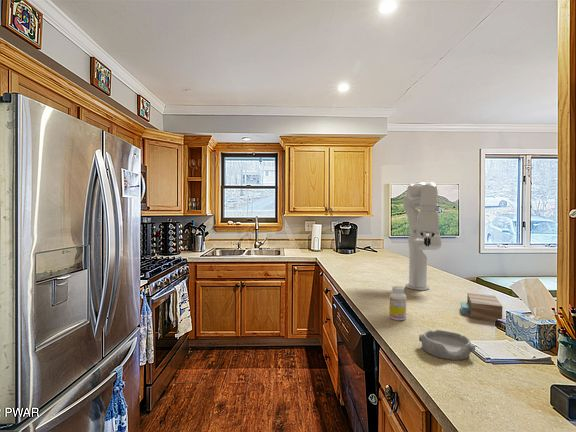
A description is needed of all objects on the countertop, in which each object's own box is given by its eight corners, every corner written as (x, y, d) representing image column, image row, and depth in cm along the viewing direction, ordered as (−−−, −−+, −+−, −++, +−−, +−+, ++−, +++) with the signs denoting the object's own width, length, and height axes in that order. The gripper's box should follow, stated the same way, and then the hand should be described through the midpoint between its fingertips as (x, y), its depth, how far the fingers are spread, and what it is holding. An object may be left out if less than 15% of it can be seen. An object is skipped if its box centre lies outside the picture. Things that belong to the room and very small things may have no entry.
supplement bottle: (394, 314, 140) (394, 284, 139) (408, 318, 135) (409, 287, 135) (386, 318, 135) (386, 287, 135) (401, 322, 130) (402, 290, 130)
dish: (480, 359, 99) (481, 343, 99) (443, 365, 95) (444, 348, 95) (445, 340, 113) (445, 326, 113) (411, 344, 109) (412, 330, 109)
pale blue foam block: (460, 308, 150) (460, 301, 150) (491, 312, 145) (491, 305, 145) (462, 314, 141) (462, 307, 141) (494, 318, 136) (494, 311, 136)
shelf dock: (462, 305, 153) (462, 292, 153) (494, 309, 148) (495, 295, 148) (465, 317, 137) (466, 302, 137) (502, 322, 132) (502, 306, 132)
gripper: (444, 209, 162) (443, 246, 162) (412, 209, 168) (411, 244, 168) (445, 209, 155) (444, 248, 156) (411, 209, 161) (410, 246, 162)
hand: (427, 246), depth 162 cm, fingers closed
